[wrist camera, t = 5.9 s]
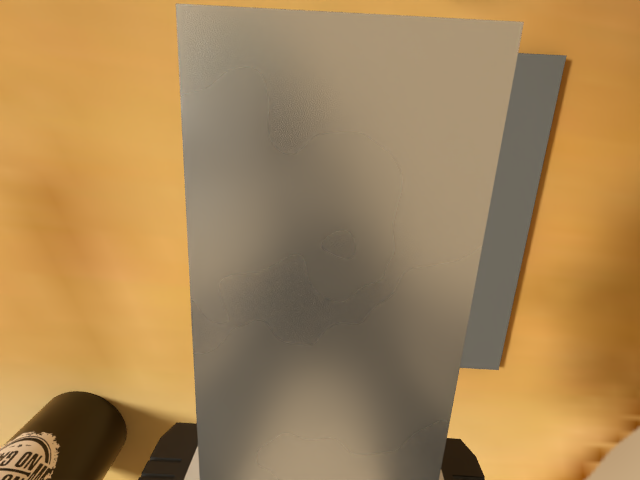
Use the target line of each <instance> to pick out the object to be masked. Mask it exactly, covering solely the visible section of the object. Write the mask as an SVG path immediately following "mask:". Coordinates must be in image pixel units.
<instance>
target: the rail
mask: <svg viewBox="0 0 640 480" xmlns="http://www.w3.org/2000/svg"><path fill="white" fill-rule="evenodd" d="M176 17H177V37H178V57H179V77H180V97H181V117H182V137H183V157H184V177H185V196H186V216H187V236H188V256H189V276H190V296H191V316H192V336H193V356H194V375H195V395H196V415H197V435H198V455H199V475H200V480H439V476H440V471H441V466H442V460H443V455H444V449H445V444H446V439H447V433H448V428H449V422H450V417H451V412H452V406H453V401H454V395H455V390H456V385H457V379H458V374H459V368H460V363H461V358H462V352H463V347H464V342H465V336H466V331H467V325H468V320H469V315H470V309H471V304H472V298H473V293H474V288H475V282H476V277H477V272H478V266H479V261H480V255H481V250H482V245H483V239H484V234H485V228H486V223H487V218H488V212H489V207H490V201H491V196H492V191H493V185H494V180H495V174H496V169H497V164H498V158H499V153H500V148H501V142H502V137H503V131H504V126H505V121H506V115H507V110H508V104H509V99H510V94H511V88H512V83H513V78H514V72H515V67H516V61H517V56H518V51H519V45H520V40H521V34H522V29H523V24H524V22H514V21H495V20H476V19H457V18H438V17H419V16H400V15H381V14H362V13H343V12H324V11H305V10H286V9H267V8H248V7H229V6H210V5H191V4H176Z"/></svg>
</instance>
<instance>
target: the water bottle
mask: <svg viewBox="0 0 640 480" xmlns="http://www.w3.org/2000/svg"><path fill="white" fill-rule="evenodd" d="M126 434H127V431H126V425H125V422H124V420H123V418H122V416H121V414H120V413H119V412H118V410H117V409H116V408H115V407H114V406H113V405H112V404H110V403H109V402H108V401H106V400H104V399H103V398H101V397H99V396H96V395H93V394H90V393H85V392H68V393H64V394H61V395H58V396H56V397H55V398H53V399H52V400H51V401H50V402H49V403H48V404H47V405H46V406H45V407H44V408H43V409H41V410H40V411H39V412H38V413H37V414H36V415H35V416H34V417H33V418H32V419H31V420H30V421H29V422H28V423H27V424H26V425H25V426H24V427H23V428H21V429H20V430H19V431H18V432H17V433H16V434H15V435H14V436H13V437H12V438H11V439H10V440H9V441H8V442H7V443H6V444H5V445H4V446H2V447H1V448H0V480H103V478H104V477H105V475H106V473H107V472H108V470H109V468H110V467H111V465H112V463H113V462H114V460H115V458H116V456H117V455H118V453H119V451H120V450H121V448H122V446H123V445H124V443H125V440H126Z"/></svg>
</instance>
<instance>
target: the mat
mask: <svg viewBox="0 0 640 480" xmlns="http://www.w3.org/2000/svg"><path fill="white" fill-rule="evenodd" d="M565 60H566V56H564V55H544V54H523V53H518V56H517V61H516V67H515V72H514V78H513V83H512V88H511V94H510V99H509V104H508V110H507V115H506V121H505V126H504V131H503V137H502V142H501V148H500V153H499V158H498V164H497V169H496V174H495V180H494V185H493V191H492V196H491V201H490V207H489V212H488V218H487V223H486V228H485V234H484V239H483V245H482V250H481V255H480V261H479V266H478V272H477V277H476V282H475V288H474V293H473V298H472V304H471V309H470V315H469V320H468V325H467V331H466V336H465V342H464V347H463V352H462V358H461V363H460V368H474V369H491V370H499V366H500V361H501V356H502V352H503V347H504V342H505V338H506V333H507V329H508V324H509V319H510V315H511V310H512V305H513V301H514V296H515V291H516V287H517V282H518V278H519V273H520V268H521V264H522V259H523V254H524V250H525V245H526V241H527V236H528V231H529V227H530V222H531V217H532V213H533V208H534V204H535V199H536V194H537V190H538V185H539V180H540V176H541V171H542V166H543V162H544V157H545V153H546V148H547V143H548V139H549V134H550V129H551V125H552V120H553V116H554V111H555V106H556V102H557V97H558V92H559V88H560V83H561V79H562V74H563V69H564V65H565Z"/></svg>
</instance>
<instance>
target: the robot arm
mask: <svg viewBox="0 0 640 480" xmlns="http://www.w3.org/2000/svg"><path fill="white" fill-rule="evenodd" d="M138 480H200V475H199V455H198V435H197V424H192V423H176V424H175V425H174V426H173V427H172V428H171V429H170V430H168V431H167V432H166V433H165V434H164V435H163V436H162V437H161V438H160V440H159V442H158V443H157V445H156V447H155V449H154V451H153V453H152V455H151V457H150V461H148V462H147V464H146V466H145V468H144V470H143V472H142V475H141V477H139V479H138ZM439 480H485V479H484V475H483V472H482V470H481V468H480V465H479V463H478V461H477V458H476V456H475V455H474V454H473V453H472V452H471V451H470V449H469V448H468V447H467V446H466V445H465V444H464V443H463V442H462V440H461V439H452V438H447V439H446V444H445V449H444V455H443V460H442V466H441V471H440V476H439Z"/></svg>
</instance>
